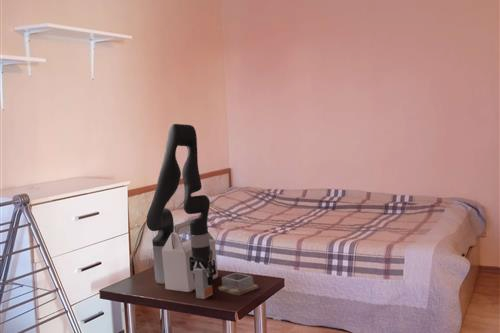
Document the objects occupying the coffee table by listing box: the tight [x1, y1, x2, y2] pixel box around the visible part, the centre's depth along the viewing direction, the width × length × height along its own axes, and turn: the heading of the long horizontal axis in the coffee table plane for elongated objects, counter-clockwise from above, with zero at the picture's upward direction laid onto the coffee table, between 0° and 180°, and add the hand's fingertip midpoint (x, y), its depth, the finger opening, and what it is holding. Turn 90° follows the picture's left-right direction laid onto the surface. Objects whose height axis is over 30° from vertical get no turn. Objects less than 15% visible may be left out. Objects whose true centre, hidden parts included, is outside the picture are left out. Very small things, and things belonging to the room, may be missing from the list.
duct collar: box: [221, 271, 255, 291], centre depth 217 cm, size 10×8×4 cm
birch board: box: [217, 283, 259, 296], centre depth 217 cm, size 13×11×1 cm
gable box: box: [162, 217, 219, 293], centre depth 229 cm, size 22×13×28 cm, turn 149°
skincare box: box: [194, 268, 213, 300], centre depth 211 cm, size 6×4×12 cm
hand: (203, 283), depth 211 cm, fingers open, 8 cm apart
